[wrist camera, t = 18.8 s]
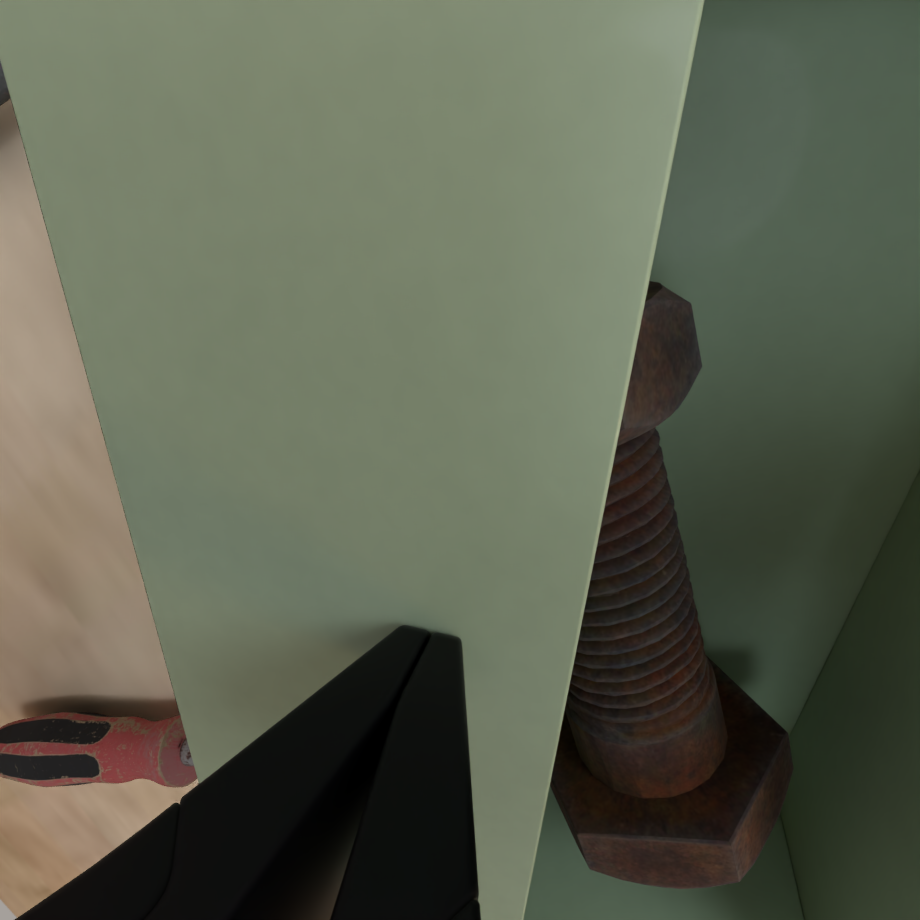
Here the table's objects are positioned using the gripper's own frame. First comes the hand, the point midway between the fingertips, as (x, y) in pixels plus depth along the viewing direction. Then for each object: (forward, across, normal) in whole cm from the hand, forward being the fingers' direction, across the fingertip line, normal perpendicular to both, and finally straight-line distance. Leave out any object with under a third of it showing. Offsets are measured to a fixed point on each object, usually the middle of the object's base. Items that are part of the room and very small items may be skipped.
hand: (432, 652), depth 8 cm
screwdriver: (+8, +10, +14) cm, 19 cm away
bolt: (+7, -2, 0) cm, 7 cm away
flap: (0, +1, 0) cm, 1 cm away
